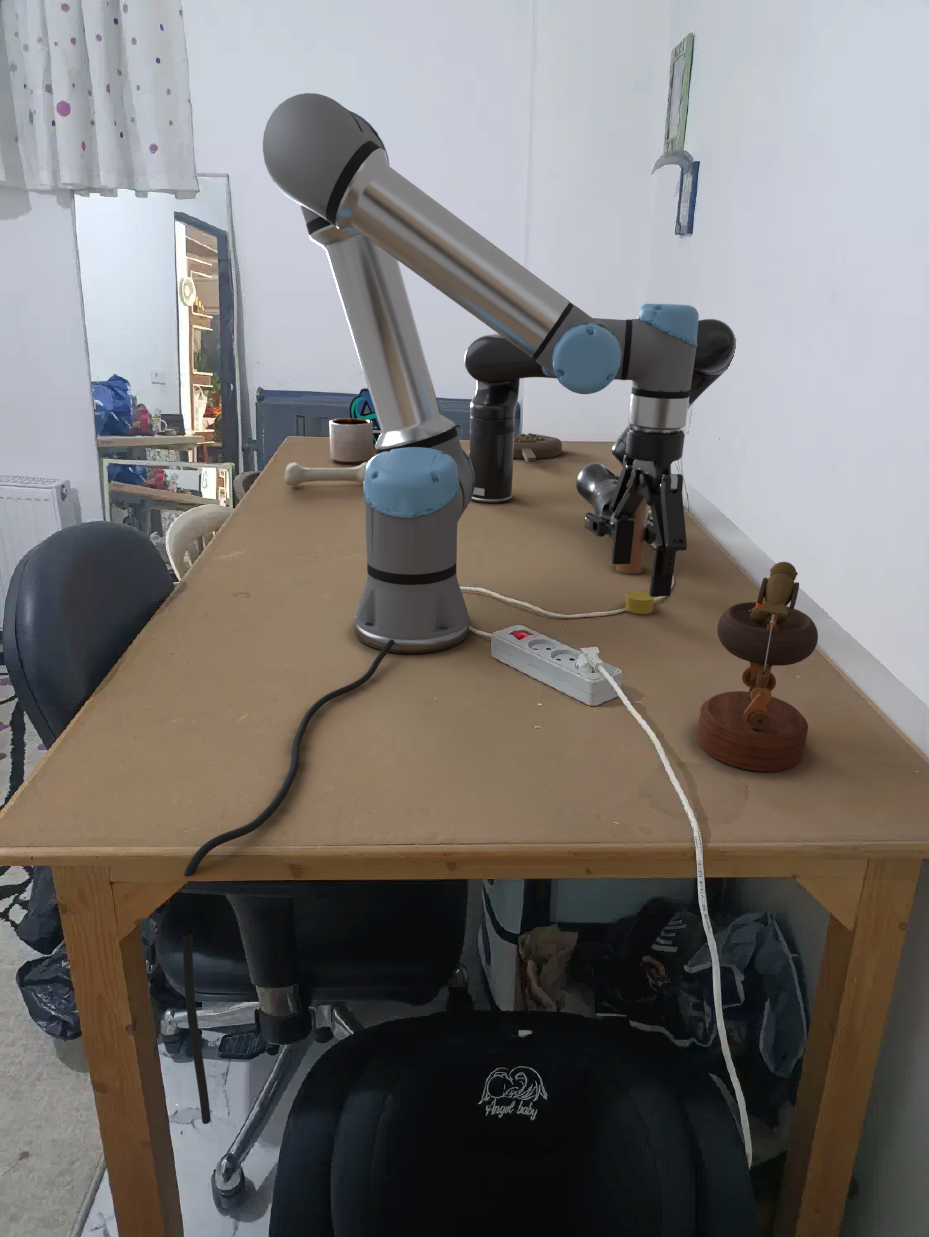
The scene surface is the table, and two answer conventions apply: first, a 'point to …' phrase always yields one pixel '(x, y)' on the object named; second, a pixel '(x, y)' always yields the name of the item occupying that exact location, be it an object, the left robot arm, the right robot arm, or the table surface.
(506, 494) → the right robot arm
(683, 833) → the table surface
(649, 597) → the cap
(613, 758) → the table surface
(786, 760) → the music box
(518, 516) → the table surface
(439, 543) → the left robot arm
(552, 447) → the ice cream bar
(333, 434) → the planter
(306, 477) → the dog toy
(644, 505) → the bottle
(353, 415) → the decorative sign
